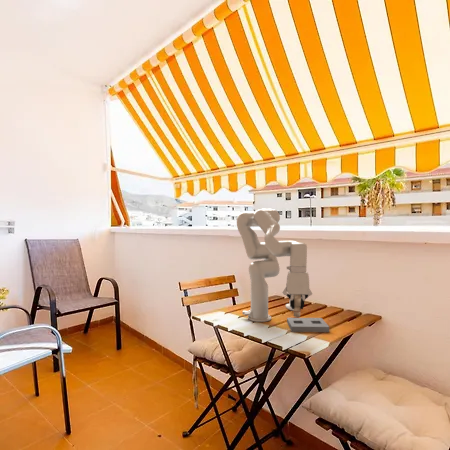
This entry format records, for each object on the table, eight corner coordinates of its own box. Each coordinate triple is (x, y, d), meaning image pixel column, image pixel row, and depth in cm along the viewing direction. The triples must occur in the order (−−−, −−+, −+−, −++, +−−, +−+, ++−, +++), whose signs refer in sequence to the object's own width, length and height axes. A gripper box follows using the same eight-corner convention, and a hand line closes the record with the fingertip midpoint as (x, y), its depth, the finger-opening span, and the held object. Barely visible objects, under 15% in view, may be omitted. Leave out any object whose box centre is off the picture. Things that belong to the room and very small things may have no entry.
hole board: (291, 331, 155) (291, 326, 155) (287, 322, 169) (287, 317, 169) (329, 332, 154) (329, 326, 154) (321, 322, 168) (321, 317, 168)
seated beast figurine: (301, 307, 197) (301, 288, 197) (302, 311, 188) (302, 291, 188) (285, 307, 198) (285, 287, 198) (286, 311, 190) (286, 290, 190)
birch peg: (293, 317, 148) (294, 291, 147) (292, 314, 151) (292, 289, 150) (301, 317, 147) (302, 291, 147) (299, 314, 151) (300, 289, 150)
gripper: (281, 270, 145) (280, 310, 146) (318, 271, 144) (317, 311, 145) (278, 267, 152) (278, 305, 153) (314, 268, 152) (313, 306, 153)
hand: (297, 307), depth 149 cm, fingers closed on birch peg, 3 cm apart
